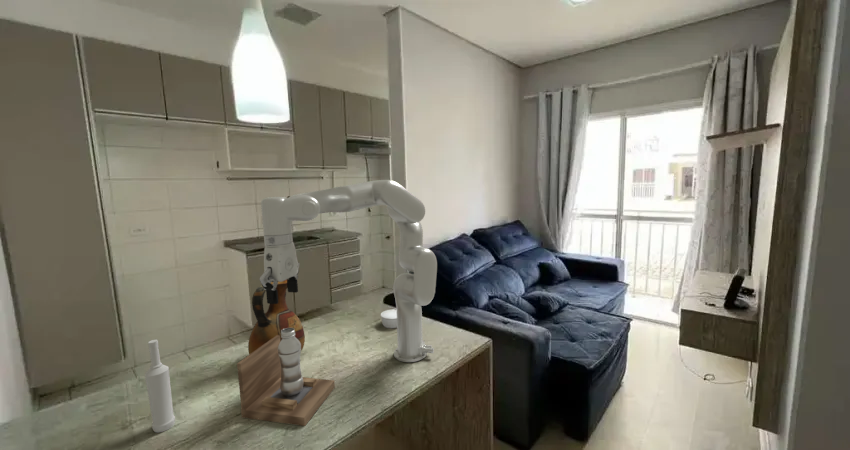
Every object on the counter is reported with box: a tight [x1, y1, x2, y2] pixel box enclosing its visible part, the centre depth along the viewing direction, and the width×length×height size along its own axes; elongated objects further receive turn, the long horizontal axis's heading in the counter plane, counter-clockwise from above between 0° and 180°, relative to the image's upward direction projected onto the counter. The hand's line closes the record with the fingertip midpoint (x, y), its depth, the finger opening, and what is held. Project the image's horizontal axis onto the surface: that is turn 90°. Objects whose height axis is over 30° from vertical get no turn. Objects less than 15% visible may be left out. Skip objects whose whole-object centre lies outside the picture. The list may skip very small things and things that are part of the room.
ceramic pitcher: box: [247, 280, 306, 355], centre depth 131 cm, size 20×20×30 cm
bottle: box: [144, 339, 176, 433], centre depth 94 cm, size 5×5×25 cm
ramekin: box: [380, 308, 397, 329], centre depth 161 cm, size 11×11×5 cm
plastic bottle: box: [278, 328, 304, 396], centre depth 104 cm, size 6×7×20 cm
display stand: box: [236, 335, 336, 427], centre depth 104 cm, size 20×18×16 cm
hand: (283, 297), depth 101 cm, fingers open, 9 cm apart
